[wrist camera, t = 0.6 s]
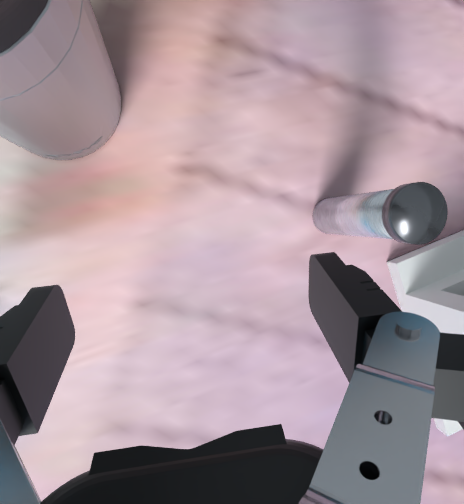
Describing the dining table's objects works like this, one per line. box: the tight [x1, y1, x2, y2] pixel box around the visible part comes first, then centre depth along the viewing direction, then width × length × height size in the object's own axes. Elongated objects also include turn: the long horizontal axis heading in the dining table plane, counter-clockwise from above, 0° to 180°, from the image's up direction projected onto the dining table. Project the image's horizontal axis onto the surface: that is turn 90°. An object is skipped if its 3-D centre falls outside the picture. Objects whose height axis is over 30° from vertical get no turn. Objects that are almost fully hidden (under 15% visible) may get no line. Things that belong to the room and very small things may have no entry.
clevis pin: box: [313, 182, 447, 244], centre depth 27 cm, size 4×4×12 cm
